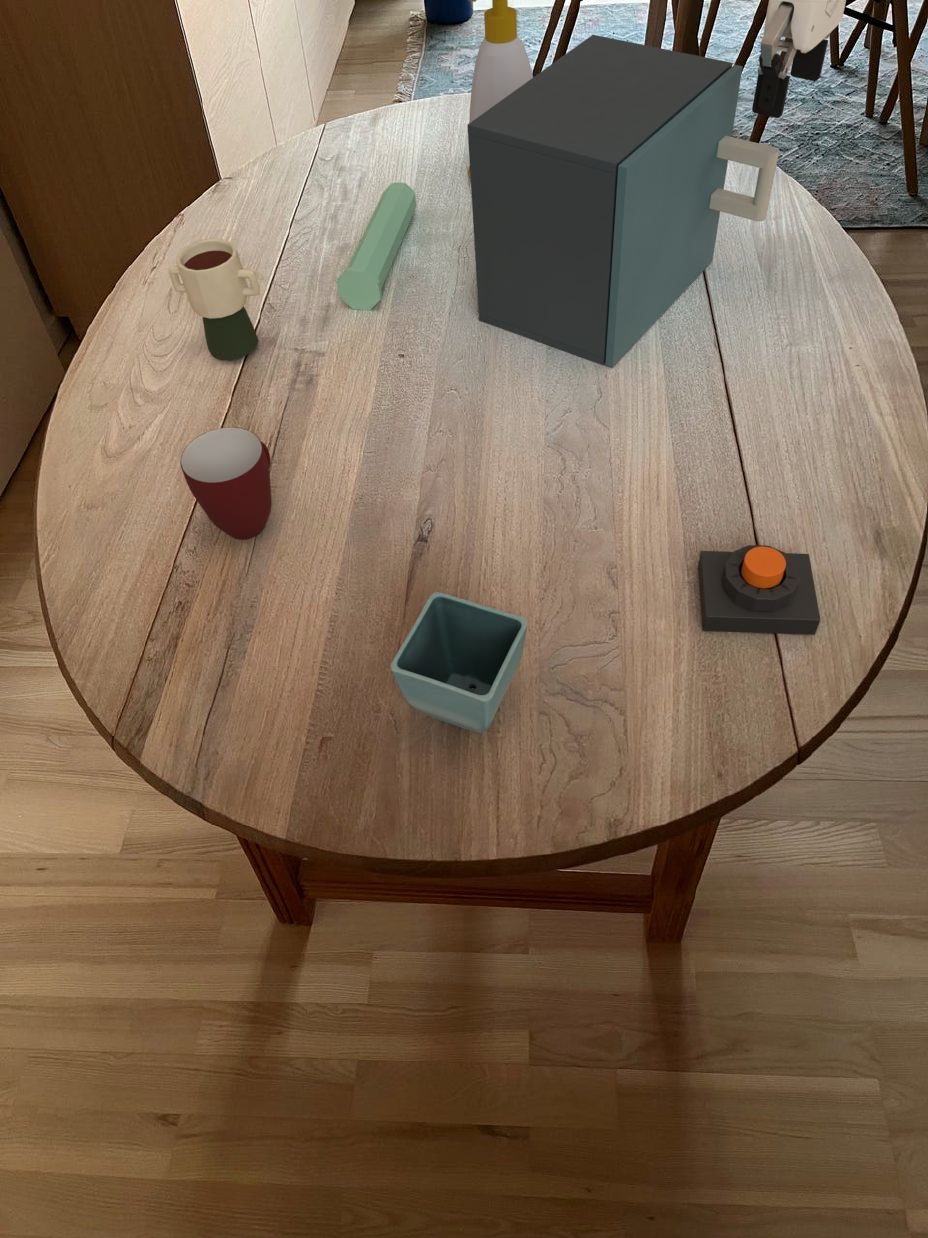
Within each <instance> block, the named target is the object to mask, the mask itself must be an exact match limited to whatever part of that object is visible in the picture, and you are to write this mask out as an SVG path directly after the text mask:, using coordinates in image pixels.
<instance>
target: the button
mask: <svg viewBox="0 0 928 1238" xmlns="http://www.w3.org/2000/svg"><path fill="white" fill-rule="evenodd" d="M773 548H774V547H773ZM773 548H770V547H755V548H753V549H751V550H749V551H748V552H747V553H746V555H745V558H744V562H743V566H742V570H741V573H742V576H743V578H744V580H745V581H746V582H747V583H748V584H750V585H752V586H754V587H756V588H761V589H767V588H772V587H774V586H776V585H778V584H779V583H780V581H781V580H782V576H783V573H784V570H785V567H786V561H785V558H784V556H783V555H782V554H781V553H780V552H779V551H777V550H775V549H776V548H775V549H773Z"/></svg>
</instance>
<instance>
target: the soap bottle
mask: <svg viewBox="0 0 928 1238" xmlns="http://www.w3.org/2000/svg"><path fill="white" fill-rule="evenodd" d="M468 1H469V2H473V3H476V2H477V0H468ZM491 2H492V3H491V4H492V5H491V6H492V7H490V8H488V9H486V10H484V13H483V16H484V17H483V18H484V19H483V20H484V38H483V40H482V41H481V43H480V45H479V48H478V51H477V55H476V59H475V63H474V68H473V74H472V79H471V81H472V82H471V90H470V99H469V100H470V102H469V118H468V119H469V120H468V124H469V123H471V122H472V121H473V120H475V119H476V118H477V117H479V116H480V115H482V114H483V113H484V112H486V111H487V110H489V109H490V108H491V107H493V106H494V105H496V104H497V103H498V102H500V101H501V100H503V99H504V98H505V97H507V96H508V95H510V94H511V93H512V92H514V91H515V90H516V89H518V88H519V87H521V86H522V85H523V84H525V83H526V82H528V81H529V80H530V79H532V78H533V77H534V75H533V70H532V67H531V63H530V59H529V55H528V52H527V49H526V48H525V44H524V42H522V40H521V38H520V37H519V36H518V20H517V19H518V18H517V9H516V8H515V7H512V6H509V4H508V2H509V1H508V0H491ZM467 175H468V177H469V179H470V180H471V178H470V165H469V166H468V170H467Z"/></svg>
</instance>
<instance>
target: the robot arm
mask: <svg viewBox="0 0 928 1238" xmlns="http://www.w3.org/2000/svg"><path fill="white" fill-rule="evenodd" d="M846 2H847V0H768V5H767V10H766V15H765V21H764V28H763V36H762V39H761V41H760V55H758V56H759V57H758V59H759V60H758V64H759V65H758V68H757V78H756V83H755V84H756V85H755V90H754V94H753V101H752V107H751V111H752V113H754V114H758V115H761V116H766V117H770V118H774V119H779V118H780V117H781V116H782V115H783V114H784V109H785V104H786V100H787V95H788V90H789V86H790V85H789V84H790V80H791V78H792V77H793V78H797V79H801V80H806V81H810V82H817V81H818V80H819V79H820V78H821V76H822V70H823V66H824V63H825V58H826V53H827V49H828V44H829V38H830V36H831V33H832V32H833V30H835V29H836V28H837V27H838V26H839V24H840V23H841V21H842V18H843V17H844V12H845V7H846ZM782 38H786V39H791V40H792V41H790V40H783V39H782ZM778 51H781V52H786V53H785V55H784V58H783V60H782V57H781V54H779V53H778ZM789 71H790V75H788V73H789Z"/></svg>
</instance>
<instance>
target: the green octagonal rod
mask: <svg viewBox="0 0 928 1238" xmlns="http://www.w3.org/2000/svg"><path fill="white" fill-rule="evenodd" d="M416 208H417V199H416V192H415V190H414V189H412V188H411V187H410V186H409V185H408V184H407V183H406V182H391V183H390V184H389V186H388V187H386V189H385V190H384V191H383V193H382V194H381V196H380V198H379V201H378V203H377V205H376V207H375V209H374V210H373V213H372V215H371V218H370V219H369V220H368V221H369V222H368V224H367V226H366V228H365V229H364V232H363V234H362V236H361V238H360V240H359V242H358V244H357V246H356V249H355V251H354V253H353V255H352V257H351V259H350V261H349V263H348V265H347V267H346V269H345V270H344V271H343V272H342V273H341V275H339V276H338V277H337V278H336V281H335V282H336V288H337V292H338V298H339V299H340V300H341V301H343V302H344V303H345V304H346V305H348V307H350V308H351V309H352V310H359V311H371V310H372V309H373V308H374V307H375V306H376V305H377V304H378V303H379V302H380V301H381V300H382V297H383V292H382V288H383V285H384V283H385V281H386V279H387V276H388V274H389V272H390V269H391V266H393V265H392V264H393V262H394V260H395V258H396V255H397V253H398V250H399V248H400V246H401V245H402V244H401V243H402V241H403V239H404V237H405V234H406V233H407V230H408V228H409V224H410V223H411V220H412V218H413V216H414V213H415V211H416Z"/></svg>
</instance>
